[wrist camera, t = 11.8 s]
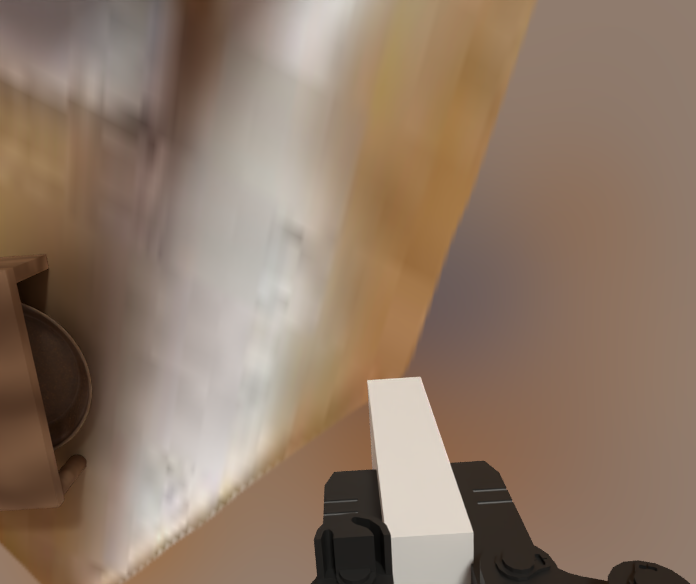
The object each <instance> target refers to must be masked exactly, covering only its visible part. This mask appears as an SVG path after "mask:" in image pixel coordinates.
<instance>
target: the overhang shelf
mask: <svg viewBox="0 0 696 584" xmlns="http://www.w3.org/2000/svg"><path fill="white" fill-rule="evenodd" d="M48 268H49V267H48V262H47V257H46V254H43V255H27V256H12V257H0V511H8V510H23V509H39V508H54V507H59V506H60V505H61V504H62V502H63V501H64V494H65V493H66V492H67V490H68V489H69V488H70V486H71V485H72V484H73V482H74V481H75V480H76V478H77V477H78V476H79V475H80V473H81V472H82V471H83V469H84V468H85V467H86V460H85V458H84V457H82V456H81V455H73V456H71V457H70V458H69V460H68V461H67V462H66V463H65V464H64V466H63V467H62V468H61V469H60V470H59V472H58V468H57V464H56V459H55V455H54V450H53V446H52V441H51V437H50V432H49V428H48V423H47V419H46V414H45V410H44V405H43V401H42V396H41V392H40V387H39V383H38V378H37V374H36V369H35V365H34V360H33V356H32V351H31V347H30V342H29V338H28V333H27V329H26V324H25V320H24V315H23V310H22V306H21V301H20V297H19V292H18V288H17V283H18V282H20V281H22V280H24V279H27V278H29V277H31V276H33V275H35V274H38V273H40V272H42V271H44V270H46V269H48Z"/></svg>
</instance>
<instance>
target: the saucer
mask: <svg viewBox="0 0 696 584" xmlns="http://www.w3.org/2000/svg"><path fill="white" fill-rule="evenodd" d="M21 306H22V310H23V315H24V320H25V324H26V329H27V333H28V338H29V342H30V347H31V351H32V356H33V360H34V365H35V369H36V374H37V378H38V383H39V387H40V392H41V396H42V401H43V405H44V410H45V414H46V419H47V423H48V428H49V432H50V437H51V441H52V446H53V450H56V449H58V448H60V447H61V446H63V445H64V444H66V443H67V442H68V441H69V440H71V439H72V438H73V437H74V436H75V434H76V433H77V432H78V431H79V430H80V428H81V427H82V425H83V423H84V422H85V419H86V417H87V415H88V412H89V409H90V405H91V400H92V382H91V376H90V372H89V368H88V365H87V363H86V360H85V358H84V356H83V354H82V352H81V350H80V348H79V347H78V345H77V344H76V342H75V341H74V339H73V338H72V337H71V336H70V335H69V333H68V332H67V331H66V330H65V329H64V328H63V327H62V326H60V325H59V324H58V323H57V322H56V321H54V320H53V319H52V318H50V317H49V316H47V315H46V314H44V313H42V312H41V311H39V310H37V309H35V308H33V307H30V306H28V305H26V304H23V303H21Z"/></svg>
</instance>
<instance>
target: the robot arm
mask: <svg viewBox="0 0 696 584" xmlns="http://www.w3.org/2000/svg"><path fill="white" fill-rule="evenodd" d="M367 381H368V399H369V416H370V434H371V449H372V466H373V470H358V471H342V472H334V473H333V474H332V476H331V477H330V479H329V480H328V482H327V483H326V484H325V491H324V518H323V524H322V525H321V526H320V528H318V530H317V532H316V535H315V538H314V545H315V556H316V568H317V577H316V579H315V580H314V581H313V582H312V583H311V584H690V583H689V582H688V581H686V580H685V579H684V578H682V577H681V576H679V575H678V574H677V573H675V572H673V571H672V570H670V569H668V568H665V567H663V566H660V565H658V564H655V563H650V562H644V561H628V562H623V563H621V564H619V565H617V566H615V567H613V569H612V570H611V572H610V574H609V576H608V581H604V580H598V579H593V578H588V577H581V576H578V575H574V574H570V573H567V572H565V571H563V570H560V569H558V568H557V565H556V564H555V562H554V561H553V560H552V559H551V557H550V556H549V555H548V554H547V553H546V552H544V551H543V550H541V549H540V548H538V547H536V546H534V545H533V543H532V540H531V538H530V536H529V534H528V532H527V530H526V528H525V526H524V524H523V522H522V519H521V517H520V515H519V513H518V511H517V509H516V507H515V505H514V503H513V502H512V499H511V497H510V494H509V492H508V490H506V486H505V484H504V482H503V480H502V478H501V476H500V473H499V472H498V471H496V470H495V469H494V468H493V467H491V466H490V465H489V464H488V463H486V462H485V461H474V462H460V463H459V462H458V463H450V462H449V459H448V456H447V453H446V451H445V448H444V445H443V442H442V439H441V436H440V433H439V430H438V427H437V424H436V422H435V418H434V416H433V412H432V410H431V407H430V404H429V401H428V398H427V395H426V392H425V389H424V386H423V383H422V380H421V377H411V378H395V379H380V380H367Z"/></svg>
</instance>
